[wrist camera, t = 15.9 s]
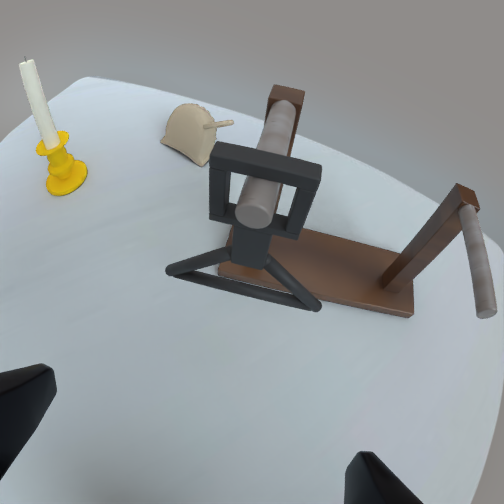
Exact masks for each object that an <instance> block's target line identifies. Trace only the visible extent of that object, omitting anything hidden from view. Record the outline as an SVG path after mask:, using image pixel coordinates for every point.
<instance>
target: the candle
mask: <svg viewBox="0 0 504 504" xmlns="http://www.w3.org/2000/svg"><path fill="white" fill-rule="evenodd" d="M24 58H25V57H24ZM19 68H20V72H21V77H22V81H23V84H24V87H25V91H26V94H27V97H28V100H29V103H30V106H31V109H32V112H33V115H34V118H35V121H36V124H37V126H38V129H39V132H40V134H41V137H42V140H41V141H40V142H39V144H38V145H37V147H36V153H37V154H38V155H40V156H46V155H47V159H48V161H49V162H50V164H49V166H48V171H49V174H50V175H49V176H48V178H47V181H46V187H47V190H48V192H50V193H51V194H52V195H56V196H61V195H66V194H68V193H71V192H72V191H74V190H76V189H77V188H78V187H79V186H80V185H81V184H82V183H83V182H84V180H85V178H86V177H87V167H86V165H85V163H83V162H82V161H79V160H74V157H73V156H72V155H71V154H68V153H67V152H66V149H65V147H64V145H65V144H66V143H67V141H68V139H69V134H68V133H67V132H66V131H56V128H55V125H54V122H53V119H52V116H51V113H50V111H49V107H48V104H47V101H46V98H45V95H44V92H43V88H42V85H41V82H40V78H39V75H38V72H37V68H36V66H35V62H34V60H33V59H32V60H28V61H26V58H25V62H22V63H20V64H19Z"/></svg>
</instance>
